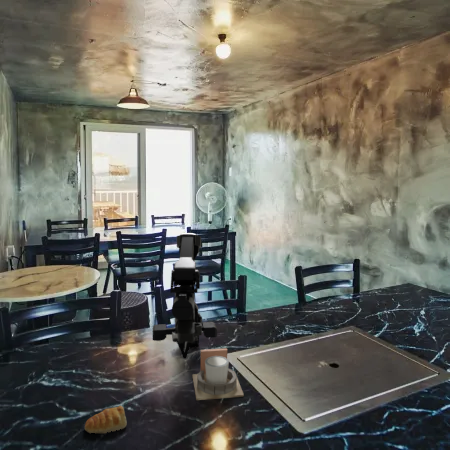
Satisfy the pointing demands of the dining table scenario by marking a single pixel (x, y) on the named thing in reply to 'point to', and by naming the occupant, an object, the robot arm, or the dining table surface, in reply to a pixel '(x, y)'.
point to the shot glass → (216, 369)
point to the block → (210, 353)
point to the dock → (216, 387)
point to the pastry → (107, 421)
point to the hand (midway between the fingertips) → (184, 358)
